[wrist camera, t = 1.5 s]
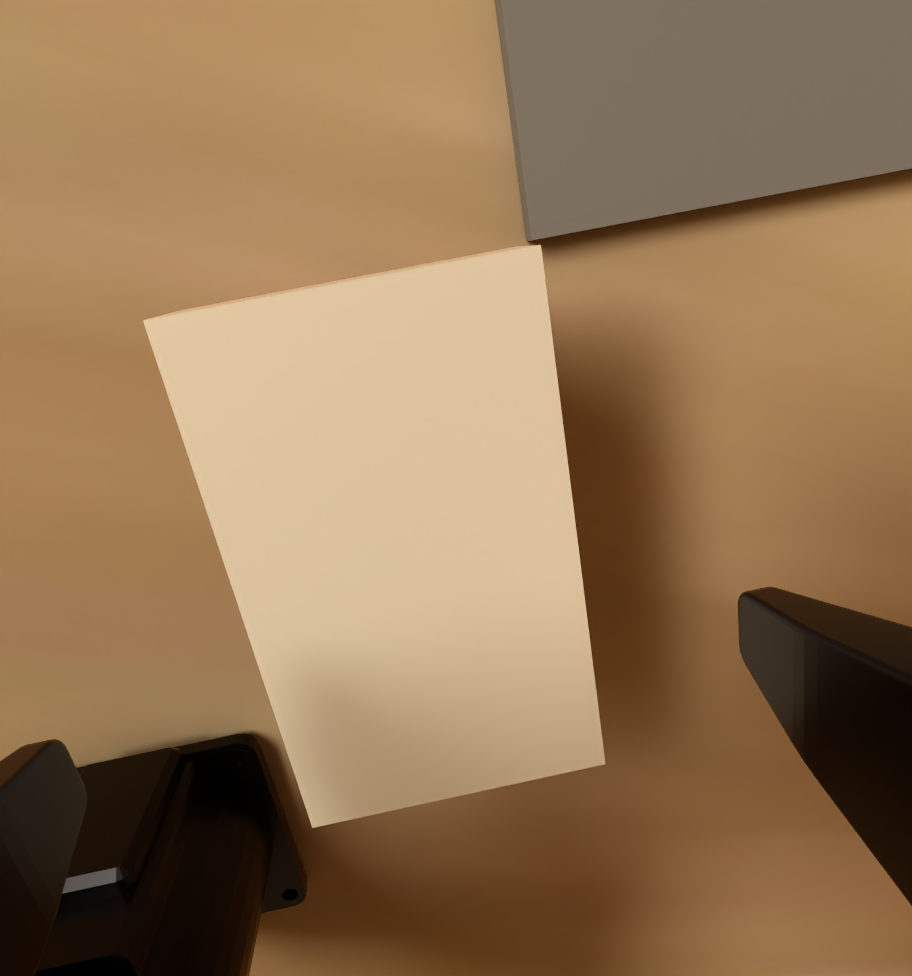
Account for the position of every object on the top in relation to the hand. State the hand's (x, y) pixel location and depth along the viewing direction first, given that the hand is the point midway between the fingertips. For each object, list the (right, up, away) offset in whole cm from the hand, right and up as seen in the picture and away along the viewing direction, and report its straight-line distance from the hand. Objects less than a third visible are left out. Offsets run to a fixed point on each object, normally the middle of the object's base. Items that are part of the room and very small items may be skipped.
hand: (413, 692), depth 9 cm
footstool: (-1, +3, +9) cm, 9 cm away
